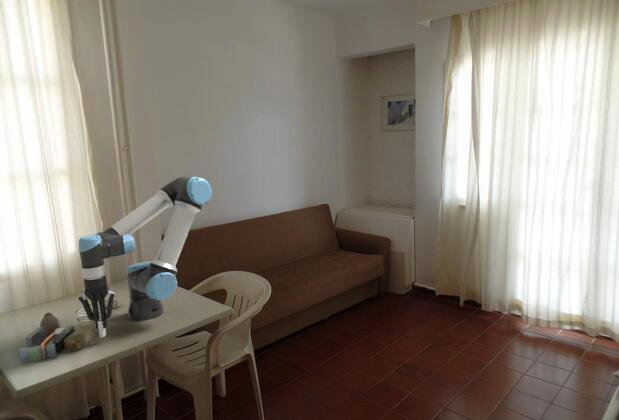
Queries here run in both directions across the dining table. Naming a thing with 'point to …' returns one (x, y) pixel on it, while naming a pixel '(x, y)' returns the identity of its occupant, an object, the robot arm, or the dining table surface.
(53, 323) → the vase
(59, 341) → the plunger
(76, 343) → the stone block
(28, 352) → the gauge housing
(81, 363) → the dining table surface
